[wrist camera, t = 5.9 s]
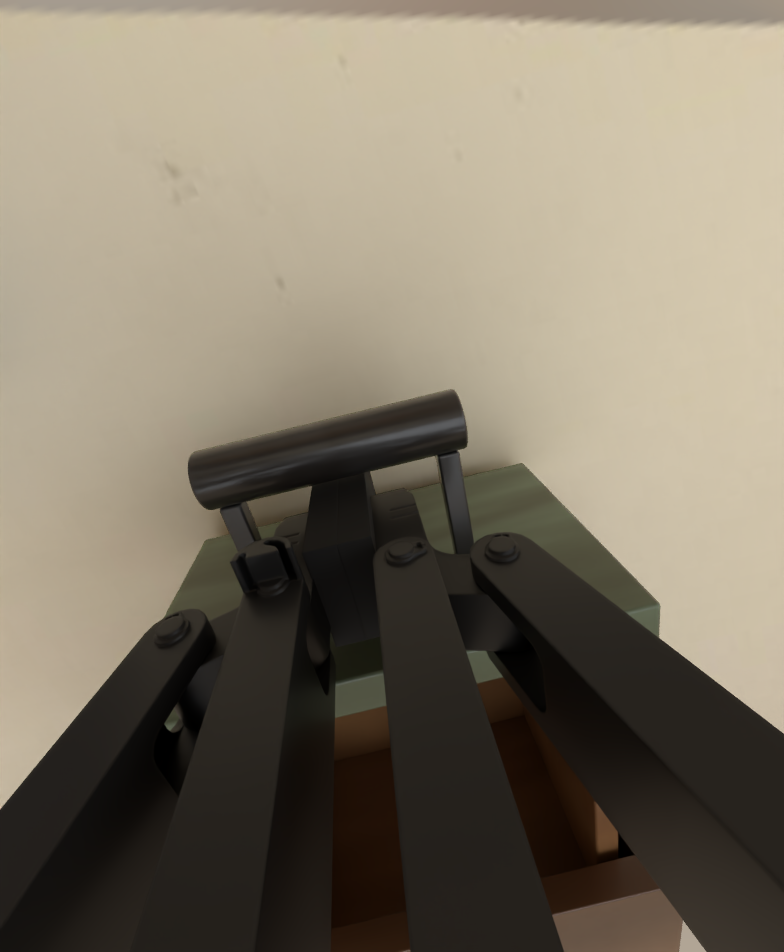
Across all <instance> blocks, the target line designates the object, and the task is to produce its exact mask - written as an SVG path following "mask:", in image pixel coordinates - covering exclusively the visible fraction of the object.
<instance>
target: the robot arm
mask: <svg viewBox="0 0 784 952" xmlns="http://www.w3.org/2000/svg"><path fill="white" fill-rule="evenodd" d="M230 564H231V566H232V569H233V571H234V573H235V575H236V577H237V580H238V582H239V584H240V586H241V588H242V591H243V596H242V600H241V603H240V606H239V607H237V608H235V609H233V610H231V611H229V612H227V613H225V614H223V615H221V616H218V617H216V618H214V619H212V620H210V621H209V620H208V618H207V616H206V614H205V613H204V612H202V611H201V610H200V609H186V610H181V611H178V612H175V613H173V614H170V615H168V616H166V617H164V618H163V619H162V620H161V621H159V622H158V623H156V624H155V625H154V626H152V627H151V628H150V629H149V630H148V631H147V632H146V633H145V634H144V636H143V637H142V638H141V639H140V640H139V642H138V643H137V644H136V645H135V647H134V648H133V649H132V650H131V651H130V653H129V654H128V655H127V656H126V657H125V659H124V660H123V661H122V662H121V664H120V665H119V666H118V667H117V668H116V670H115V671H114V672H113V673H112V674H111V676H110V677H109V678H108V679H107V681H106V682H105V683H104V684H103V685H102V687H101V688H100V689H99V690H98V691H97V693H96V694H95V695H94V696H93V698H92V699H91V700H90V701H89V702H88V704H87V705H86V706H85V707H84V708H83V710H82V711H81V712H80V713H79V715H78V716H77V717H76V718H75V719H74V721H73V722H72V723H71V724H70V726H69V727H68V728H67V729H66V730H65V732H64V733H63V734H62V735H61V736H60V738H59V739H58V740H57V741H56V743H55V744H54V745H53V746H52V747H51V749H50V750H49V751H48V752H47V753H46V755H45V756H44V757H43V758H42V760H41V761H40V762H39V763H38V764H37V766H36V767H35V768H34V769H33V770H32V772H31V773H30V774H29V775H28V777H27V778H26V779H25V780H24V781H23V783H22V784H21V785H20V786H19V787H18V789H17V790H16V791H15V792H14V794H13V795H12V796H11V797H10V798H9V800H8V801H7V802H6V803H5V805H4V806H3V807H2V808H1V809H0V952H331V909H332V853H333V797H334V741H335V686H336V664H335V660H334V656H333V654H332V651H331V648H330V632H331V634H332V637H333V640H334V643H335V645H336V647H340V646H344V645H348V644H352V643H356V642H360V641H365V640H369V639H373V638H377V637H380V643H381V654H382V664H383V674H384V685H385V695H386V705H387V715H388V726H389V736H390V746H391V757H392V767H393V777H394V788H395V798H396V808H397V819H398V829H399V839H400V850H401V860H402V870H403V880H404V891H405V901H406V911H407V922H408V932H409V942H410V952H564V950H563V947H562V944H561V940H560V937H559V934H558V931H557V928H556V925H555V922H554V919H553V916H552V913H551V910H550V907H549V904H548V901H547V898H546V894H545V891H544V888H543V885H542V882H541V879H540V876H539V873H538V870H537V867H536V864H535V861H534V858H533V855H532V852H531V848H530V845H529V842H528V839H527V836H526V833H525V830H524V827H523V824H522V821H521V818H520V815H519V812H518V809H517V806H516V802H515V799H514V796H513V793H512V790H511V787H510V784H509V781H508V778H507V775H506V772H505V769H504V766H503V763H502V759H501V756H500V753H499V750H498V747H497V744H496V741H495V738H494V735H493V732H492V729H491V726H490V723H489V720H488V717H487V713H486V710H485V707H484V704H483V701H482V698H481V695H480V692H479V689H478V686H477V683H476V680H475V677H474V674H473V671H472V667H471V664H470V661H469V658H468V655H467V652H466V650H470V651H486V652H487V654H488V657H489V659H490V660H491V661H492V663H493V664H494V665H495V667H496V668H497V669H498V671H499V672H500V673H501V675H502V676H503V678H504V679H505V680H506V682H507V683H508V684H509V686H510V687H511V688H512V690H513V691H514V692H515V694H516V695H517V696H518V698H519V699H520V700H521V702H522V703H523V705H524V706H525V707H526V709H527V710H528V711H529V713H530V714H531V715H532V717H533V718H534V719H535V721H536V722H537V723H538V725H539V726H540V728H541V729H542V730H543V732H544V733H545V734H546V736H547V737H548V738H549V740H550V741H551V742H552V744H553V745H554V746H555V748H556V749H557V750H558V752H559V753H560V755H561V756H562V757H563V759H564V760H565V761H566V763H567V764H568V765H569V767H570V768H571V769H572V771H573V772H574V773H575V775H576V776H577V777H578V779H579V780H580V782H581V783H582V784H583V786H584V787H585V788H586V790H587V791H588V792H589V794H590V795H591V796H592V798H593V799H594V800H595V802H596V803H597V804H598V806H599V807H600V809H601V810H602V811H603V813H604V814H605V815H606V817H607V818H608V819H609V821H610V822H611V823H612V825H613V826H614V827H615V829H616V830H617V831H618V833H619V834H620V836H621V837H622V838H623V840H624V841H625V842H626V844H627V845H628V846H629V848H630V849H631V850H632V852H633V853H634V854H635V856H636V857H637V858H638V860H639V861H640V863H641V864H642V865H643V867H644V868H645V869H646V871H647V872H648V873H649V875H650V876H651V877H652V879H653V880H654V881H655V883H656V884H657V885H658V887H659V888H660V890H661V891H662V892H663V894H664V895H665V896H666V898H667V899H668V900H669V902H670V903H671V904H672V906H673V907H674V908H675V910H676V911H677V912H678V914H679V915H680V917H681V918H682V919H683V920H684V922H685V923H686V925H687V926H688V927H689V929H690V930H691V931H692V933H693V934H694V935H695V937H696V938H697V939H698V941H699V942H700V944H701V945H702V946H703V947H704V949H705V950H706V951H707V952H784V734H783V733H782V732H781V731H779V730H778V729H777V728H775V727H774V726H773V725H772V724H770V723H769V722H768V721H766V720H765V719H764V718H762V717H761V716H760V715H759V714H757V713H756V712H755V711H753V710H752V709H751V708H749V707H748V706H747V705H746V704H744V703H743V702H742V701H740V700H739V699H738V698H736V697H735V696H734V695H733V694H731V693H730V692H729V691H727V690H726V689H725V688H723V687H722V686H721V685H720V684H718V683H717V682H716V681H714V680H713V679H712V678H710V677H709V676H708V675H707V674H705V673H704V672H703V671H701V670H700V669H699V668H697V667H696V666H695V665H694V664H692V663H691V662H690V661H688V660H687V659H686V658H684V657H683V656H682V655H681V654H679V653H678V652H677V651H675V650H674V649H673V648H671V647H670V646H669V645H668V644H666V643H665V642H664V641H662V640H661V639H660V638H658V637H657V636H656V635H655V634H653V633H652V632H651V631H649V630H648V629H647V628H645V627H644V626H643V625H642V624H640V623H639V622H638V621H636V620H635V619H634V618H632V617H631V616H630V615H628V614H627V613H626V612H625V611H623V610H622V609H621V608H619V607H618V606H617V605H615V604H614V603H613V602H612V601H610V600H609V599H608V598H606V597H605V596H604V595H602V594H601V593H600V592H599V591H597V590H596V589H595V588H593V587H592V586H591V585H589V584H588V583H587V582H586V581H584V580H583V579H582V578H580V577H579V576H578V575H576V574H575V573H574V572H573V571H571V570H570V569H569V568H567V567H566V566H565V565H563V564H562V563H561V562H560V561H558V560H557V559H556V558H554V557H553V556H552V555H550V554H549V553H548V552H547V551H545V550H544V549H543V548H541V547H540V546H539V545H537V544H536V543H535V542H534V541H532V540H531V539H529V538H527V537H525V536H523V535H521V534H517V533H512V532H499V533H493V534H490V535H486V536H484V537H482V538H480V539H479V540H477V541H476V542H475V543H474V544H473V545H472V546H471V548H470V554H449V553H444V552H441V551H439V550H436V549H435V548H433V547H432V546H431V545H430V543H429V541H428V539H427V536H426V533H425V530H424V527H423V524H422V520H421V517H420V514H419V511H418V508H417V505H416V502H415V499H414V496H413V494H412V493H410V492H409V491H407V490H406V489H404V488H402V489H397V490H393V491H389V492H385V493H381V494H377V495H376V494H375V490H374V486H373V482H372V478H371V475H370V472H366V473H362V474H358V475H354V476H349V477H345V478H341V479H337V480H333V481H329V482H325V483H321V484H317V485H312V491H311V497H310V504H309V510H308V512H307V513H303V514H299V515H295V516H291V517H287V518H285V519H284V520H283V521H282V522H281V523H280V524H279V526H278V527H277V528H276V530H275V533H274V537H268V538H264V539H261V540H258V541H255V542H253V543H251V544H249V545H247V546H245V547H243V548H242V549H241V550H240V551H239V552H237V553H236V554H235V555H234V556H233V558H232V559H231V561H230ZM173 709H174V710H175V712H176V713H177V715H178V716H179V720H178V721H177V723H176V725H175V726H174V727H173V728H172V729H171V730H170V731H169V730H168V729H167V727H166V726H165V724H164V723H165V722H166V720H167V718H168V717H169V715H170V714H171V712H172V710H173Z"/></svg>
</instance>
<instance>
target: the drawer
mask: <svg viewBox="0 0 784 952" xmlns="http://www.w3.org/2000/svg"><path fill="white" fill-rule="evenodd" d="M467 443H468V433H467V426H466V420H465V416H464V412H463V408H462V405H461V402H460V399H459V397H458V395H457V393H456V392H455V390H453V389H450V390H445V391H441V392H437V393H433V394H429V395H425V396H421V397H417V398H413V399H408V400H404V401H400V402H396V403H392V404H388V405H384V406H380V407H375V408H371V409H367V410H363V411H359V412H355V413H351V414H347V415H343V416H338V417H334V418H330V419H326V420H322V421H318V422H314V423H310V424H306V425H301V426H297V427H293V428H289V429H285V430H281V431H277V432H273V433H269V434H264V435H260V436H256V437H252V438H248V439H244V440H240V441H236V442H232V443H227V444H223V445H219V446H215V447H211V448H207V449H203V450H199V451H195V452H193V453H192V454H191V455H190V457H189V461H188V475H189V480H190V484H191V487H192V490H193V493H194V495H195V497H196V499H197V500H198V502H199V503H200V504H201V505H202V506H203V507H204V508H205V509H208V510H214V509H218V508H221V509H220V513H221V515H222V517H223V519H224V522H225V524H226V526H227V528H228V531H229V533H230V534H228V535H224V536H220V537H216V538H212V539H208V540H206V541H205V542H204V544H203V546H202V548H201V550H200V551H199V553H198V555H197V557H196V559H195V561H194V563H193V564H192V566H191V568H190V570H189V572H188V574H187V576H186V578H185V579H184V581H183V583H182V585H181V587H180V589H179V591H178V592H177V594H176V596H175V598H174V600H173V602H172V604H171V605H170V607H169V609H168V611H167V613H166V615H165V617H166V616H168V615H170V614H173V613H175V612H178V611H181V610H186V609H200V610H201V611H202V612H204V613H205V614H206V616H207V618H208V620H209V621H210V620H212V619H214V618H216V617H218V616H221V615H223V614H225V613H227V612H229V611H231V610H233V609H235V608H237V607H239V606H240V603H241V600H242V596H243V591H242V588H241V586H240V584H239V582H238V580H237V577H236V575H235V573H234V571H233V569H232V566H231V564H230V561H231V559H232V558H233V556H234V555H235V554H236V553H237V552H239V551H240V550H241V549H242V548H243V547H245V546H247V545H249V544H251V543H253V542H255V541H258V540H261V539H264V538H268V537H274V533H275V530H276V528H277V527H278V526H279V524H280V523H281V522H278V523H274V524H269V525H265V526H261V527H257V526H256V524H255V521H254V519H253V516H252V514H251V511H250V509H249V507H248V504H247V501H251V500H255V499H259V498H263V497H267V496H271V495H275V494H280V493H284V492H288V491H292V490H296V489H300V488H304V487H308V486H312V485H317V484H321V483H325V482H329V481H333V480H337V479H341V478H345V477H349V476H354V475H358V474H362V473H366V472H370V471H374V470H378V469H382V468H386V467H391V466H395V465H399V464H403V463H407V462H411V461H415V460H419V459H424V458H428V457H432V456H435V458H436V463H437V468H438V473H439V478H440V483H438V484H434V485H430V486H426V487H422V488H417V489H413V490H409V492H410V493H412V494H413V496H414V499H415V502H416V505H417V508H418V511H419V514H420V517H421V520H422V524H423V527H424V530H425V533H426V536H427V539H428V541H429V543H430V545H431V546H432V547H433V548H435V549H436V550H439V551H441V552H444V553H449V554H470V548H471V546H472V545H473V544H474V543H475V542H476V541H477V540H479V539H480V538H482V537H484V536H486V535H490V534H493V533H499V532H512V533H517V534H521V535H523V536H525V537H527V538H529V539H531V540H532V541H534V542H535V543H536V544H537V545H539V546H540V547H541V548H543V549H544V550H545V551H547V552H548V553H549V554H550V555H552V556H553V557H554V558H556V559H557V560H558V561H560V562H561V563H562V564H563V565H565V566H566V567H567V568H569V569H570V570H571V571H573V572H574V573H575V574H576V575H578V576H579V577H580V578H582V579H583V580H584V581H586V582H587V583H588V584H589V585H591V586H592V587H593V588H595V589H596V590H597V591H599V592H600V593H601V594H602V595H604V596H605V597H606V598H608V599H609V600H610V601H612V602H613V603H614V604H615V605H617V606H618V607H619V608H621V609H622V610H623V611H625V612H626V613H627V614H628V615H630V616H631V617H632V618H634V619H635V620H636V621H638V622H639V623H640V624H642V625H643V626H644V627H645V628H647V629H648V630H649V631H651V632H652V633H653V634H655V635H656V636H657V637H658V638H659V624H660V604H659V602H658V601H657V600H656V599H655V598H654V597H653V596H652V595H651V594H650V593H649V592H648V591H647V590H646V589H645V588H644V587H643V586H642V585H641V584H640V583H639V582H638V581H637V580H636V579H635V578H634V577H633V576H632V575H631V574H630V573H629V572H628V571H627V570H626V569H625V568H624V567H623V566H622V565H621V563H620V562H619V561H618V560H617V559H616V558H615V557H614V556H613V555H612V554H611V553H610V552H609V551H608V550H607V549H606V548H605V547H604V546H603V545H602V544H601V543H600V542H599V541H598V540H597V539H596V538H595V537H594V536H593V535H592V534H591V533H590V532H589V531H588V530H587V529H586V528H585V527H584V526H583V525H582V524H581V523H580V522H579V520H578V519H577V518H576V517H575V516H574V515H573V514H572V513H571V512H570V511H569V510H568V509H567V508H566V507H565V506H564V505H563V504H562V503H561V502H560V501H559V500H558V499H557V498H556V497H555V496H554V495H553V494H552V493H551V492H550V491H549V490H548V489H547V488H546V487H545V486H544V485H543V484H542V483H541V482H540V481H539V480H538V479H537V477H536V476H535V475H534V474H533V473H532V472H531V471H530V470H529V469H528V468H527V467H526V466H525V465H524V464H522V463H520V464H516V465H512V466H508V467H504V468H500V469H496V470H492V471H487V472H483V473H479V474H475V475H471V476H467V477H463V472H462V466H461V460H460V454H459V452H458V450H461V449H464V448H466V447H467ZM330 648H331V651H332V654H333V656H334V660H335V664H336V686H335V741H334V797H333V853H332V909H331V929H332V928H336V927H340V926H344V925H348V924H353V923H357V922H361V921H365V920H369V919H373V918H377V917H381V916H385V915H390V914H394V913H398V912H402V911H406V901H405V891H404V880H403V870H402V860H401V850H400V839H399V829H398V819H397V808H396V798H395V788H394V777H393V767H392V757H391V746H390V736H389V726H388V715H387V705H386V695H385V685H384V674H383V664H382V654H381V643H380V637H377V638H373V639H369V640H365V641H360V642H356V643H352V644H348V645H344V646H340V647H336V645H335V643H334V640H333V637H332V634H331V632H330ZM466 652H467V655H468V658H469V661H470V664H471V667H472V671H473V674H474V677H475V680H476V683H477V686H478V689H479V692H480V695H481V698H482V701H483V704H484V707H485V710H486V713H487V717H488V720H489V723H490V726H491V729H492V732H493V735H494V738H495V741H496V744H497V747H498V750H499V753H500V756H501V759H502V763H503V766H504V769H505V772H506V775H507V778H508V781H509V784H510V787H511V790H512V793H513V796H514V799H515V802H516V806H517V809H518V812H519V815H520V818H521V821H522V824H523V827H524V830H525V833H526V836H527V839H528V842H529V845H530V848H531V852H532V855H533V858H534V861H535V864H536V867H537V870H538V873H539V876H540V878H542V877H546V876H550V875H554V874H558V873H562V872H566V871H570V870H575V869H579V868H583V867H587V866H591V865H595V864H599V863H603V862H607V861H612V860H616V859H618V831H617V830H616V829H615V827H614V826H613V825H612V823H611V822H610V821H609V819H608V818H607V817H606V815H605V814H604V813H603V811H602V810H601V809H600V807H599V806H598V804H597V803H596V802H595V800H594V799H593V798H592V796H591V795H590V794H589V792H588V791H587V790H586V788H585V787H584V786H583V784H582V783H581V782H580V780H579V779H578V777H577V776H576V775H575V773H574V772H573V771H572V769H571V768H570V767H569V765H568V764H567V763H566V761H565V760H564V759H563V757H562V756H561V755H560V753H559V752H558V750H557V749H556V748H555V746H554V745H553V744H552V742H551V741H550V740H549V738H548V737H547V736H546V734H545V733H544V732H543V730H542V729H541V728H540V726H539V725H538V723H537V722H536V721H535V719H534V718H533V717H532V715H531V714H530V713H529V711H528V710H527V709H526V707H525V706H524V705H523V703H522V702H521V700H520V699H519V698H518V696H517V695H516V694H515V692H514V691H513V690H512V688H511V687H510V686H509V684H508V683H507V682H506V680H505V679H504V678H503V676H502V675H501V673H500V672H499V671H498V669H497V668H496V667H495V665H494V664H493V663H492V661H491V660H490V659H489V657H488V654H487V652H486V651H470V650H466ZM178 720H179V716H178V715H177V713H176V712H175V710H174V709H173V710H172V712H171V714H170V715H169V717H168V718H167V720H166V722H165V723H164V724H165V726H166V727H167V729H168V730H169V731H170V730H171V729H172V728H173V727H174V726H175V725H176V723H177V721H178Z"/></svg>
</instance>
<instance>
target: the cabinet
mask: <svg viewBox="0 0 784 952" xmlns="http://www.w3.org/2000/svg"><path fill="white" fill-rule="evenodd" d="M540 879H541V882H542V885H543V888H544V891H545V894H546V898H547V901H548V904H549V907H550V910H551V913H552V916H553V919H554V922H555V925H556V928H557V931H558V934H559V937H560V940H561V944H562V947H563V950H564V952H679V947H680V939H681V931H682V923H683V919H682V918H681V917H680V915H679V914H678V912H677V911H676V910H675V908H674V907H673V906H672V904H671V903H670V902H669V900H668V899H667V898H666V896H665V895H664V894H663V892H662V891H661V890H660V888H659V887H658V885H657V884H656V883H655V881H654V880H653V879H652V877H651V876H650V875H649V873H648V872H647V871H646V869H645V868H644V867H643V865H642V864H641V863H640V861H639V860H638V858H637V857H636V856H635V854H634V853H633V852H632V850H631V849H630V848H629V846H628V845H627V844H626V842H625V841H624V840H623V838H622V837H621V836H620V834H619V833H618V859H616V860H612V861H607V862H603V863H599V864H595V865H591V866H587V867H583V868H579V869H575V870H570V871H566V872H562V873H558V874H554V875H550V876H546V877H542V878H540ZM331 952H410V942H409V932H408V922H407V911H402V912H398V913H394V914H390V915H385V916H381V917H377V918H373V919H369V920H365V921H361V922H357V923H353V924H348V925H344V926H340V927H336V928H332V929H331Z"/></svg>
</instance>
